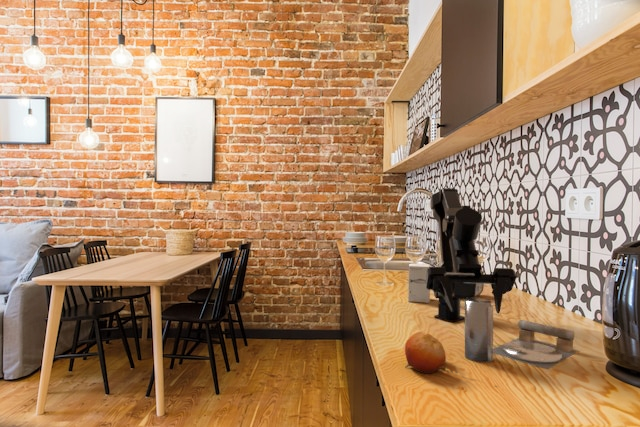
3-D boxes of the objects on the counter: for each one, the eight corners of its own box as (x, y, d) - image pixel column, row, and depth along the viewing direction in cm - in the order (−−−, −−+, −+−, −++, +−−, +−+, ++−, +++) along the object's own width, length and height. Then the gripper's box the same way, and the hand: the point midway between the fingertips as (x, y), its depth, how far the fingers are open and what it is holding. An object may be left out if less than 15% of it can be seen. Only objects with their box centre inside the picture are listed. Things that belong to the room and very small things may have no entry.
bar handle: (517, 339, 91) (517, 320, 91) (522, 337, 93) (522, 318, 93) (570, 353, 83) (570, 332, 83) (574, 350, 84) (574, 330, 84)
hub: (471, 354, 85) (471, 295, 85) (502, 364, 80) (502, 301, 80) (453, 362, 81) (453, 300, 81) (484, 373, 75) (485, 306, 75)
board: (521, 341, 94) (521, 336, 94) (578, 355, 84) (578, 350, 84) (487, 356, 84) (487, 351, 84) (547, 375, 74) (547, 369, 74)
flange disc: (517, 341, 90) (517, 338, 90) (570, 355, 81) (570, 351, 81) (493, 352, 83) (493, 348, 83) (548, 368, 75) (548, 364, 75)
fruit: (407, 349, 84) (425, 321, 82) (437, 376, 80) (457, 348, 77) (388, 360, 78) (407, 331, 75) (420, 390, 74) (441, 360, 71)
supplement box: (407, 302, 135) (407, 265, 134) (409, 297, 142) (409, 262, 142) (429, 303, 132) (429, 266, 132) (430, 298, 139) (430, 263, 139)
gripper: (498, 275, 97) (513, 332, 86) (421, 273, 100) (427, 328, 89) (508, 246, 89) (526, 305, 78) (425, 245, 92) (431, 302, 81)
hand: (475, 311), depth 82 cm, fingers open, 9 cm apart
